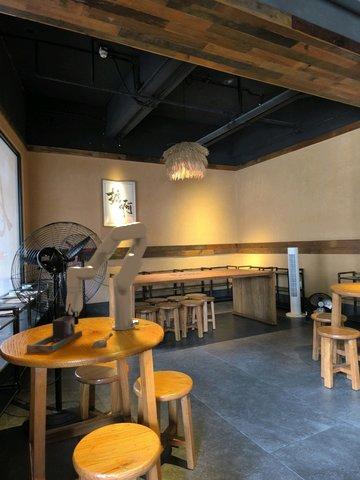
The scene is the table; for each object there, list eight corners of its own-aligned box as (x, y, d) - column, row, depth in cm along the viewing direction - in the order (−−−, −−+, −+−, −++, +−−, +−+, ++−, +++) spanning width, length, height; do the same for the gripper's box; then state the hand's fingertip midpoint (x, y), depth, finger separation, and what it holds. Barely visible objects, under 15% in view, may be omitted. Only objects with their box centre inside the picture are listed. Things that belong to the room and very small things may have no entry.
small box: (64, 342, 154) (63, 320, 154) (52, 342, 155) (51, 320, 156) (75, 336, 164) (75, 316, 165) (64, 336, 166) (63, 316, 166)
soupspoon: (89, 351, 143) (104, 351, 142) (89, 343, 143) (104, 344, 142) (105, 335, 165) (117, 336, 164) (105, 329, 165) (117, 329, 164)
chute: (82, 335, 166) (81, 329, 166) (50, 352, 139) (50, 345, 139) (61, 335, 168) (61, 329, 168) (26, 352, 141) (26, 345, 141)
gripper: (75, 288, 180) (75, 321, 180) (60, 291, 166) (60, 327, 165) (87, 288, 179) (88, 321, 178) (74, 291, 164) (74, 327, 164)
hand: (75, 324), depth 172 cm, fingers closed
